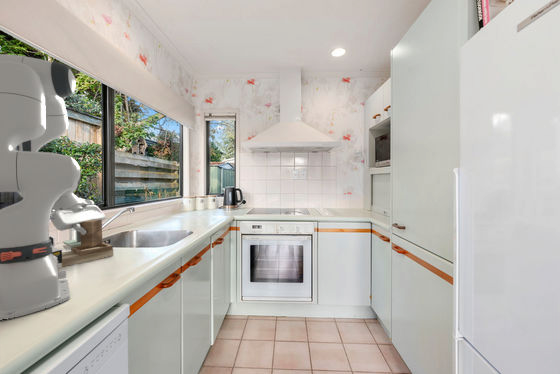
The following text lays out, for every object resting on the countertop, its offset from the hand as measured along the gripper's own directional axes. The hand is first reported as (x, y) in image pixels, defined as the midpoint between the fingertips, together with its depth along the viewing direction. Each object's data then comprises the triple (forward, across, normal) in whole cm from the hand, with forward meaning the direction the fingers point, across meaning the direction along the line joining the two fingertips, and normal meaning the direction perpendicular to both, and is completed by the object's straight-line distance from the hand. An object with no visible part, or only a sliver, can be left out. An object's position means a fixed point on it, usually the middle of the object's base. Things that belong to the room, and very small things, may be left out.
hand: (92, 231), depth 103 cm
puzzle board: (+6, -3, +9) cm, 11 cm away
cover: (-3, +5, +11) cm, 13 cm away
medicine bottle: (+4, -16, +11) cm, 20 cm away
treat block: (+3, 0, +4) cm, 5 cm away
